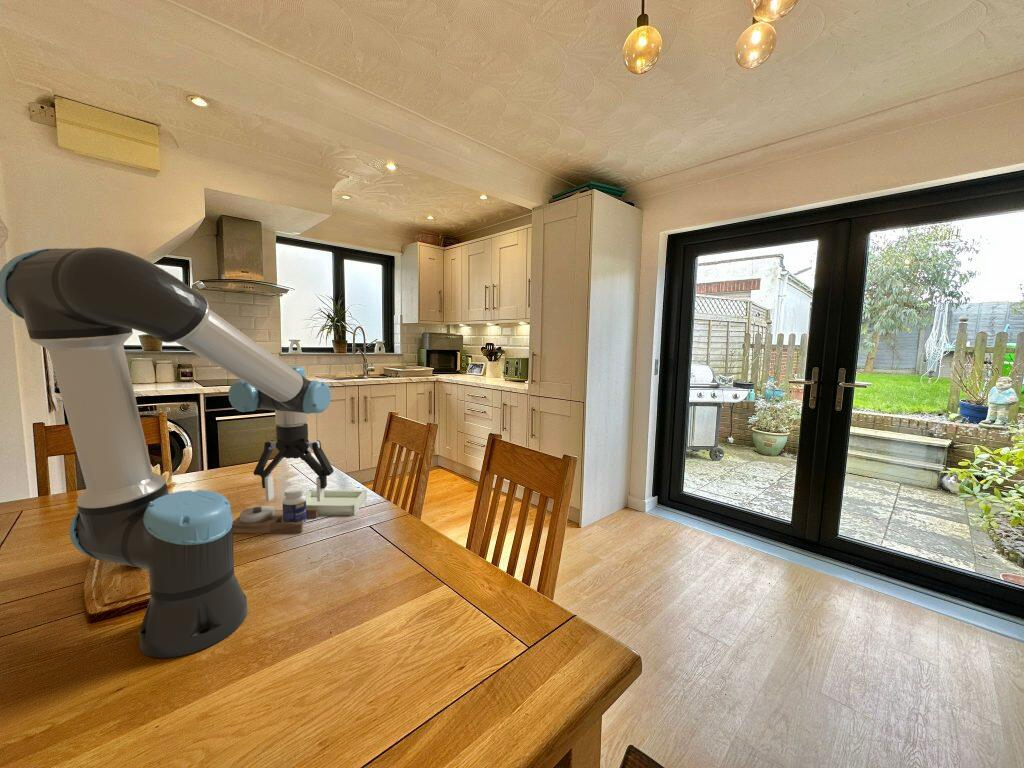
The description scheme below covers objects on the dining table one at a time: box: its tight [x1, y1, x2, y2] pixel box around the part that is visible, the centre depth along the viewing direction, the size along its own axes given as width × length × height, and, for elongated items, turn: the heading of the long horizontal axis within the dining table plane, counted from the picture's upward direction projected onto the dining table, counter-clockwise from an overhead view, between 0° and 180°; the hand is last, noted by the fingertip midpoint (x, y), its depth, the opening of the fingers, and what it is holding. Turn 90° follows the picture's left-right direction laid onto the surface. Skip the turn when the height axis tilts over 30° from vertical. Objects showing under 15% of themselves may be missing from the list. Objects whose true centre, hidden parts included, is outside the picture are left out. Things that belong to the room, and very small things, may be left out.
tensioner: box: [233, 505, 319, 534], centre depth 112 cm, size 10×19×5 cm, turn 92°
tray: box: [303, 489, 368, 517], centre depth 124 cm, size 12×18×3 cm, turn 92°
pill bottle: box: [282, 486, 307, 526], centre depth 112 cm, size 6×6×10 cm
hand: (295, 499), depth 112 cm, fingers open, 13 cm apart
